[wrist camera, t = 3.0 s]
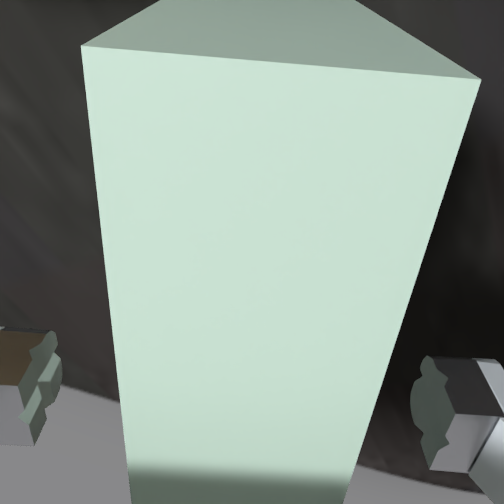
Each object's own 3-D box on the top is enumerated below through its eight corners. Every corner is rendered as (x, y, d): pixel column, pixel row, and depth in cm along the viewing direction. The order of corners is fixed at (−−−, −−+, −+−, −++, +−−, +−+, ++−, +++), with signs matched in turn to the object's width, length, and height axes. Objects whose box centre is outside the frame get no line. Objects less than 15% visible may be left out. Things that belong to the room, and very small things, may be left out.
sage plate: (323, -20, 15) (480, 79, 4) (276, 317, 23) (290, 663, 12) (212, -30, 15) (80, 45, 4) (203, 311, 23) (148, 655, 12)
